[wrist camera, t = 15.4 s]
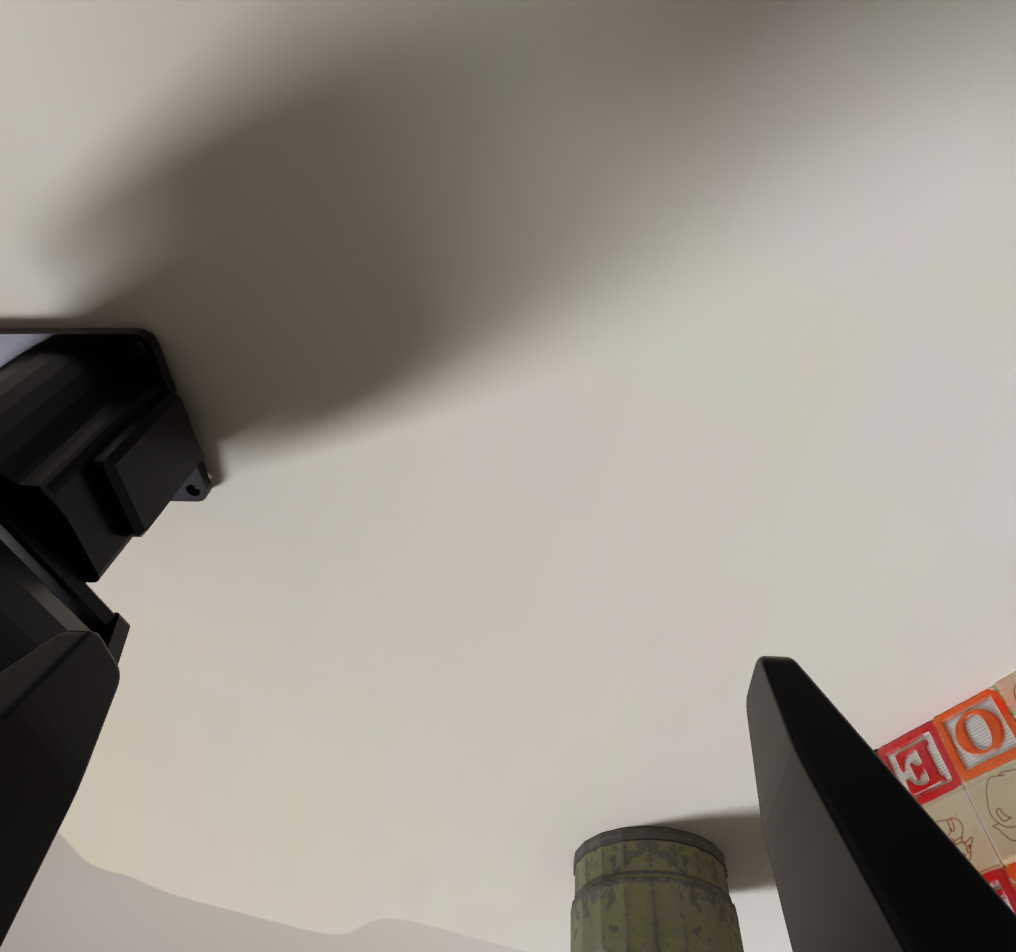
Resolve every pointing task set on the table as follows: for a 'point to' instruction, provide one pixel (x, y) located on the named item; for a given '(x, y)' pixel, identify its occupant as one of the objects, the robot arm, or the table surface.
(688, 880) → the thermos
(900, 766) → the stack of blocks
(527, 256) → the table surface
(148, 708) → the table surface
